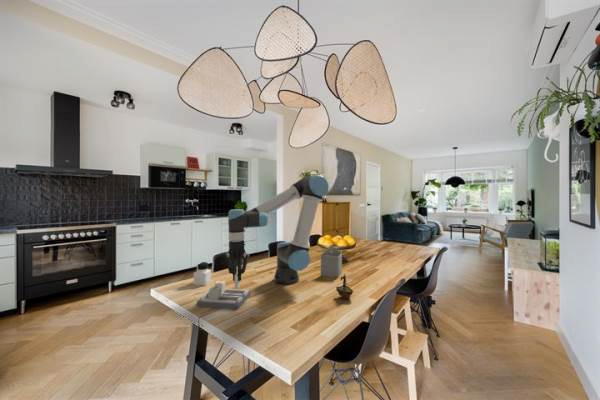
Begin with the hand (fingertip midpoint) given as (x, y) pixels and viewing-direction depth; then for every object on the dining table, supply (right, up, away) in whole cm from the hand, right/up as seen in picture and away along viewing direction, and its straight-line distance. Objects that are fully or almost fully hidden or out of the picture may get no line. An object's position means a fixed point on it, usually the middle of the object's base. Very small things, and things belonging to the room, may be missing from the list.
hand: (237, 287), depth 119 cm
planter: (+54, -6, +35) cm, 64 cm away
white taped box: (-9, -3, +1) cm, 9 cm away
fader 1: (-9, -3, -7) cm, 11 cm away
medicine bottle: (-25, -5, +19) cm, 32 cm away
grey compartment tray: (-5, -5, -4) cm, 8 cm away
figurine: (+54, -6, +1) cm, 54 cm away
